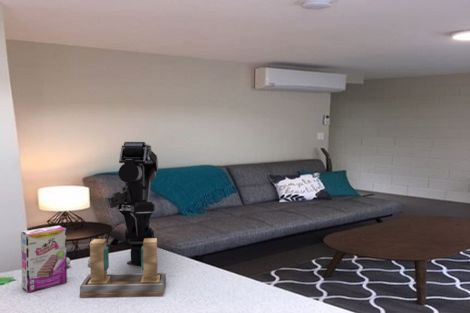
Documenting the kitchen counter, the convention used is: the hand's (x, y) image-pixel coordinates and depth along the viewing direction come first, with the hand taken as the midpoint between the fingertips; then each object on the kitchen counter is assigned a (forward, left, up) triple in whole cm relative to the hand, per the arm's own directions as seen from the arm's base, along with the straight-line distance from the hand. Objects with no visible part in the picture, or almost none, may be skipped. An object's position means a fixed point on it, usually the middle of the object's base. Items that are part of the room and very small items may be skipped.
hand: (134, 234), depth 131 cm
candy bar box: (+16, -19, -13) cm, 28 cm away
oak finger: (+7, +10, -12) cm, 17 cm away
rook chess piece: (-3, -17, -13) cm, 22 cm away
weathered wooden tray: (+10, +4, -13) cm, 17 cm away
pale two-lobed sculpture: (+5, -25, -13) cm, 29 cm away
